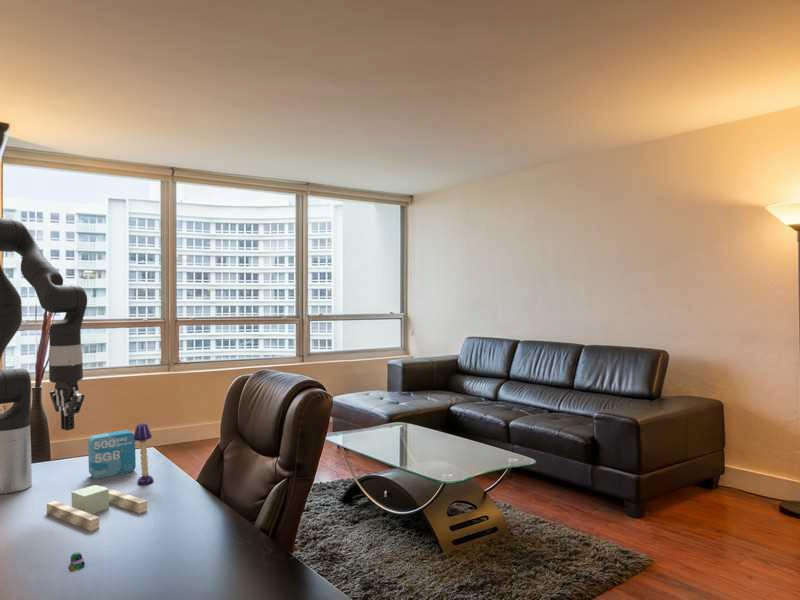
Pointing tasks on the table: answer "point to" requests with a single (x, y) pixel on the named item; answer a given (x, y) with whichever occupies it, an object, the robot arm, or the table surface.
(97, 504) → the sage block
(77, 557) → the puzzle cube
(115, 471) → the data package
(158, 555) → the table surface
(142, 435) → the toy lamp
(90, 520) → the parallel wooden bars
